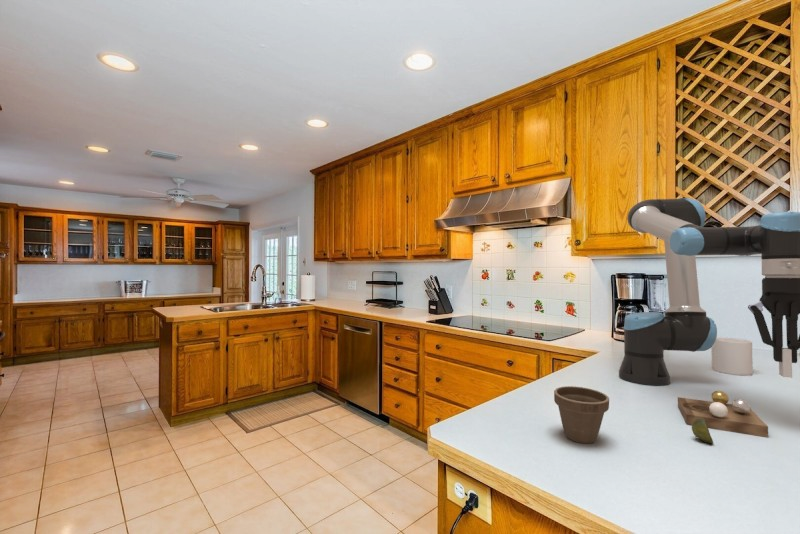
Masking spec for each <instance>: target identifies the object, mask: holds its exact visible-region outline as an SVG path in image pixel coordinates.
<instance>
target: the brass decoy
mask: <svg viewBox="0 0 800 534" xmlns="http://www.w3.org/2000/svg"><path fill="white" fill-rule="evenodd" d="M729 399H730V398H729V396H728V394H727V393H725V392H724V391H722V390H716V391H713V392H712V393H711V400H712V402H719V403H722V404H728V402H729V401H730V400H729Z"/></svg>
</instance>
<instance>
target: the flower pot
mask: <svg viewBox="0 0 800 534" xmlns="http://www.w3.org/2000/svg"><path fill="white" fill-rule="evenodd" d="M553 394H554V395H553V397H554V398H553V399H554V400H553V401H554V403H555V404H556V406H557V407H558V410H559V415H560V416H559V417H560V421H561V424H562V429H563V432H564V435H565V437H566V438H568V439H569V440H570V441H573V442H576V443H580V444H593V443H595V442H596V440H597V438H598V436H599V434H600V433H599V432H600V429H601V425H602V423H603V418H604V416H605V415H604V414H605V413H606V412H608V411H609V408H610V397H609V396H608V395H607V394H605V393H604V392H601V391H599V390H596V389H593V388H590V387H589V388H588V387H582V386H576V385H575V386H573V385H570V386H568V385H567V386H566V385H565V386H559V387H557V388H555V389H554V392H553Z"/></svg>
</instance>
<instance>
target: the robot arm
mask: <svg viewBox="0 0 800 534" xmlns="http://www.w3.org/2000/svg"><path fill="white" fill-rule="evenodd" d="M626 217H627V223H628V225H629V227H630V228H631V229H633V230H634V231H635V232H638V233H642V234H649V235H650V236H651V235H652V236H654V237H655V238H658V239H660V240H661V241H663V242H664V255H665V265H666V267H665V268H666V279H667V290H668V303H669V304H668V306H669V307H668V308H666V309H665V311H664V313H662V312H659V311H641V312H634V313H630V314H627V315H625V317H624V323H623V325H624V326H623V333H624V334H623V335H624V336H623V338H624V339H623V340H624V341H623V342H624V346H623V349H624V355H623V358H622V361H621V364H620V365H619V366H620V367H619V369H618V377H619V378H620V379H622V380H624V381H627V382H630V383H633V384H639V385H640V384H641V385H646V386H648V385H649V386H666V385H669V384H670V383H671V375H670V373H669V370H668V368H667V365H666V362H665V359H664V357H665V356H664V353H665V352H664V351H676V352H677V351H678V352H680V351H681V352H694V353H695V352H705V351H707V350H708V351H709V350H710V349H712V346H713V344H714V343H715V341H716V338H717V337H718V329H717V325H716V323H715V320H713V318H711V317H709V316H707V311H706V310H705V309H703V308H702V307H701V303H700V294H699V293H700V291H699V282H698V271H697V270H698V269H697V261H696V256H739V257H744V256H745V257H748V256H750V257H751V256H753V255H761V257H760V258H761V276H764V277H763V278H762V279H761V297H760V298H759V301H758V302H756V303H753V304H749V305H748V306H747V309H748V310H749V311H750V312H751V313H752V314H753V317H754V320H755V323H756V326H757V329H758V333H759V335H760V337H761V342H763V344H766V346H770V347H772V350H773V351H772V352H773V353H772V354H773V360H774V362H777V363H778V372H779V373H778V374H779V375H780V376H781V377H783V378H790V379H791V378H793V364H797V363H798V350H800V334H799V333H798V331H799V330H798V320H799V315H800V212H798V211H780V212H771V213H766V214H763V215H762V216H761V218H760V221H759V222H760V223H759V224H758V225H751V226H720V227H715V226H714V227H712V226H711V227H710V226H709V227H708V226H707V227H706V226H705V222H706V220H707V219H706V218H707V217H706V210H705V208H704V206H703V204H702V203H701V202H700V201H698V200H697V199H694V198H687V197H686V198H684V197H679V198H661V199H660V198H657V199H654V198H653V199H652V198H651V199H646V200H645V199H644V200H642V201H639V202H637V203H636V204H634V205H633V206H632V207H631V208H630V209H629V211H628V214H627V216H626ZM763 307H764V308H763ZM764 309H765V310H766V311H768V313H769V314H770V318H771V333H770V331H769V328H768V326H767V322H766V320H765V316H764V314H763V311H764ZM784 316H785V321H786V322H785V323H786V326H785V328H786V330H785V331H786V346H787V347H784V339H783V338H784V337H783V336H784V335H783V334H784V333H783V321H784ZM798 334H799V335H798ZM771 335H772V336H771ZM798 336H799V337H798Z"/></svg>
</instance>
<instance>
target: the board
mask: <svg viewBox="0 0 800 534" xmlns="http://www.w3.org/2000/svg"><path fill="white" fill-rule="evenodd" d="M712 403H714V401H710V400H709V401H708V400H703V399H697V398H695V399H694V398H689V397H687V398H686V397H681V396H680V397H679V396H677V407H678V410H679V412H680V414H681V415H682V418H683V419H684V422H685V424H686V425H688V426H693V423H694V421H695V420H696V419H698V418H704V420H705V423H706V425H707V427H708V429H713V430H719V431H725V432H732V433H737V434H744V435H750V436H757V437H763V438H769V426H768V425H767V424H766V423H765V421H763V420H762V419H761V418H760V417H759V416H758V415H757V413H756V412H754V410H752V409H750V411H749V412H748V413H746V414H740V413H738V412H736V411H735V410H734V409H733V408H732V403H726V404H724V405H725V406H726V407H727V409H728V414H727V415H726V416H725V417H716V416H714V415H713V414H712V413H711V412H710V410H709V406H710V405H711V404H712Z"/></svg>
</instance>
